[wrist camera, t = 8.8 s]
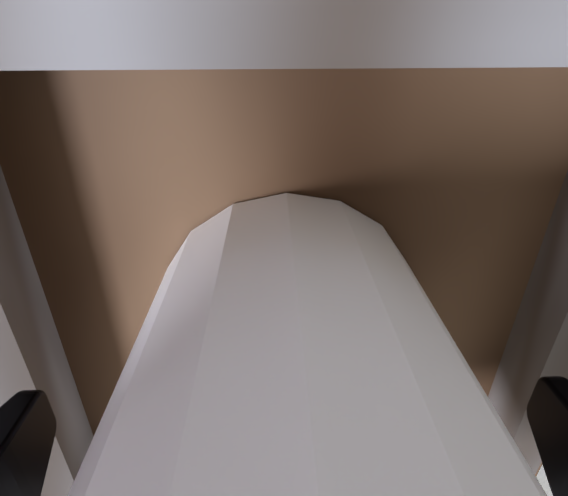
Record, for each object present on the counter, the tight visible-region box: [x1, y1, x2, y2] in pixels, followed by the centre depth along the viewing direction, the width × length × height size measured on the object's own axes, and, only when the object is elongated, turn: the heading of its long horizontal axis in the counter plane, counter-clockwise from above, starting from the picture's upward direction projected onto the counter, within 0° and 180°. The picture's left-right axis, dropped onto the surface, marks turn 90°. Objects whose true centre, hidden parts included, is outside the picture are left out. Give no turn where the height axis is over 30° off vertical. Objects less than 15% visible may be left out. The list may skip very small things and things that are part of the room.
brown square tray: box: [0, 0, 568, 496], centre depth 11 cm, size 16×16×3 cm
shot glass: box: [68, 193, 547, 496], centre depth 8 cm, size 7×7×7 cm
